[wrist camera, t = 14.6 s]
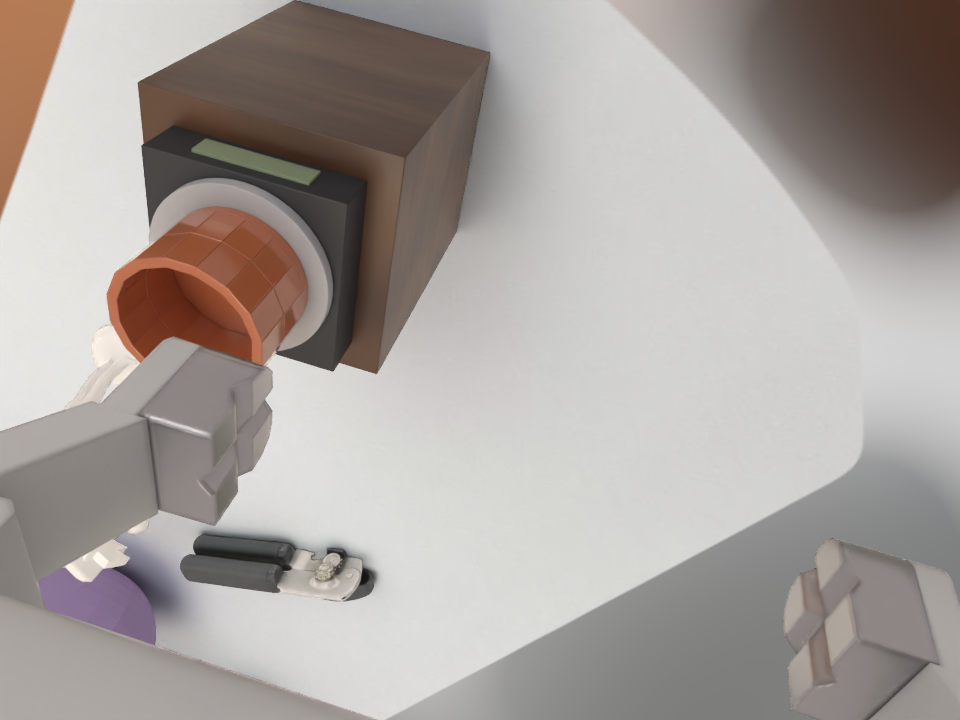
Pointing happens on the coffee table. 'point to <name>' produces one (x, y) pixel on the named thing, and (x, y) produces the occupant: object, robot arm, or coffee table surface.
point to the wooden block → (345, 134)
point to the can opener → (276, 569)
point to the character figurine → (103, 557)
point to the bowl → (211, 287)
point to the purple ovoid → (101, 602)
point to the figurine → (105, 366)
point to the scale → (271, 222)
